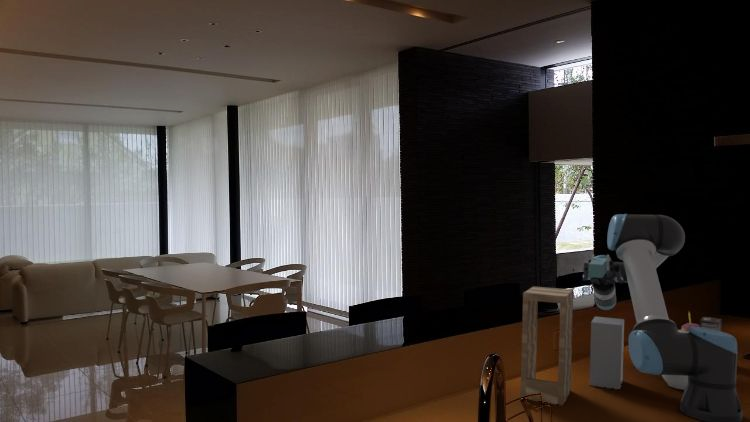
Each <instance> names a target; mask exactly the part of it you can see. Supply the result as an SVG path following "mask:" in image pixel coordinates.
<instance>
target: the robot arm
mask: <svg viewBox="0 0 750 422" xmlns="http://www.w3.org/2000/svg"><path fill="white" fill-rule="evenodd" d="M609 221H610V222H609V224H608V229H607V237H606V238H607V239H606V243H607V248H608V250H610V251H615V253H616V257H617V258H618V259H619V260H621V261H622V262H620V261H613V260H612V259H611V257H610V254H606V255H605V254H600V255H596V256H595V253H591V255H590V256H591V257H590V259H588V261H587V262H588V263H587V262H584V263H583V273H582V281H583V282H584V281H588V280H589V281H590V282H591V284H592V290H593V296H594V303H595V304H596V306H597V307H598V308H599V309H601V310H604V311H609V310H611V309H613V308H614V307H615V306H616V304H617V301H618V300H617V295H616V294H617V293H616V283H619V284H624V283H627V284H628V285H627V286H628V289H629V293H630V298H631V302H632V303H631V304H632V307H633V311H634V312H633V313H634V317H635V321H636V323H635V325H634V326H633V328H632V331H631V332H630V333H629V335H628V340H627V341H628V343H627V344H628V352H629V353H628V354H629V357H630V359H631V362H632V364H633V366H634V367H635V369H637V371H639V372H640V373H643V374H650V375H654V376H659V375H660V376H662V375H683V376H688V384H687V386H686V388H685V390H683V391H684V392H683V394H682V396H681V399H680V400H679V401H680V402H679V410H680V412H682V414H684V415H685V416H687V417H690V418H692V419H695V420H699V421H701V422H702V421H703V422H742V421H743V417H744V415H743V414H744V413H743V408H742V405H741V402H740V398H739V395H738V392H737V371H738V370H737V369H738V368H737V367H738V366H737V365H738V354H739V352H738V342H737V339H736V338H735V336H733V335H732V334H730V333H728V332H724V331H722V330H721V331H717V330H713V329H708V328H703V327H690V329H689V333H683V332H678V330H679V329H678V325H677V323H675V321H673V320H672V319H670V318H669V314H668V311H667V307H666V303H665V299H664V295H663V292H662V288H661V283H660V281H659V276H658V273H657V269H658V267H659V266H661V264H662V263H664V262H665V261H666V260H667V259H668V257H672V256H674V255H676V254H677V253H679V252H680V250H681V249H683V247H684V244H685V241H686V234H685V231H684V228H683V227H682V225H681V224H680V223H679V222H678V221H677V220H675V219H674V218H672V217H670V216H668V215H663V214H631V213H629V214H628V213H624V214H621V213H618V214H614V215H613V216H612V217H611V219H610V220H609ZM595 258H606V264H607V270H608V271H607V272H606V273H605V275H604V276H603V278H597V277H588V273H589V263H590V262H591V261H593V260H594V259H595Z"/></svg>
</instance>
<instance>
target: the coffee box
mask: <svg viewBox="0 0 750 422" xmlns="http://www.w3.org/2000/svg"><path fill="white" fill-rule="evenodd" d="M722 320H723V319H722V318H717V317H711V316H702V317H701V319H700V320H699V325H700V327H703V328H708V329H713V330H717V331H721V332H722V330H723V328H722V325H723V324H722V323H723V321H722Z"/></svg>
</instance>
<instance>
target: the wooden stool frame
mask: <svg viewBox="0 0 750 422" xmlns="http://www.w3.org/2000/svg"><path fill="white" fill-rule="evenodd" d="M539 302H541V303H542V302H543V303H555V304H559V307H560V308H559V336H558V337H559V339H558V341H559V343H558V344H559V345H558V371H557V372H558V373H557V374H558V375H557V376H558V377H557V381H553V380H552V381H551V380H545V379H538V378H536V377H537V353H538V352H537V347H538V343H537V342H538V307H539V306H538V305H539V304H538V303H539ZM573 307H574V289H569V288H568V289H567V288H557V287H545V286H543V287H542V286H534V285H533V286H531V287H530V288H528V289H527V290H526V291H523V293H522V320H521V323H522V324H521V325H522V326H521V327H522V329H521V366H520V398H521V397H524V396H527V395H531V394H538V393H541V396H542V401H543V402H542V403H544V402H548V403H547V404H550V403H551V404H550V405H556V404H559V405H558V406H564V405H565V403H564V402H566V401H567V399H568V398H569V397H568V396H569V395H570V393H571V390H572V389H571V387H572V386H571V385H572V384H571V383H572V348H573V347H572V345H573V316H574V315H573V311H574V310H573V309H574V308H573ZM531 398H532V399H531V400H532V402H537V403H539V402H538V401H539V400H540V397H539V396H534V397H531ZM531 400H530V401H531ZM563 404H564V405H563Z"/></svg>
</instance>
